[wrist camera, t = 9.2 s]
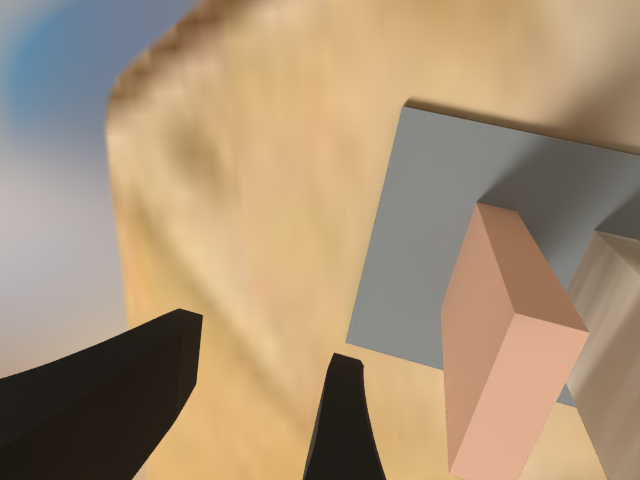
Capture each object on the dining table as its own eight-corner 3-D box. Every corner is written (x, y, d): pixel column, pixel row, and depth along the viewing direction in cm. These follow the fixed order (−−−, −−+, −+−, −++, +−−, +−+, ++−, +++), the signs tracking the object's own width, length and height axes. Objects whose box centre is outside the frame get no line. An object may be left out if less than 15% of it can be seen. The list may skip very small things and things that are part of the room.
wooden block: (637, 239, 18) (819, 392, 9) (585, 347, 20) (698, 552, 11) (593, 229, 18) (734, 370, 10) (546, 337, 20) (630, 531, 12)
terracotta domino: (516, 211, 18) (589, 333, 10) (477, 318, 20) (511, 494, 12) (476, 201, 18) (514, 313, 10) (440, 308, 20) (448, 474, 12)
